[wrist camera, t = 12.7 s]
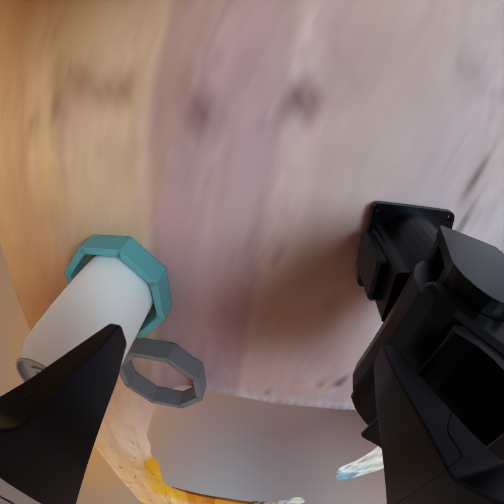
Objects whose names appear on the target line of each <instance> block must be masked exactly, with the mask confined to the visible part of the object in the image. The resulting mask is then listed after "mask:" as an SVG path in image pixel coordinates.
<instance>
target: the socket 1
mask: <svg viewBox="0 0 504 504" xmlns="http://www.w3.org/2000/svg"><path fill="white" fill-rule="evenodd" d="M88 254H91V255H102V256H114V257H119V258H120V259H121V260H122V261H123V262H124V263H126V264H127V265H128V266H129V267H130V268H131V269H132V270H133V271H135V272H136V273H137V274H138V275H139V276H140V277H141V278H143V279H144V280H145V281H146V282H147V283H148V284H150V286H151V291H152V296H153V300H154V305H155V309H156V310H155V311H154V312H153V313H151V314H150V315H149V316H148V317H147V318H145V320H144V322H143V324H142V326H141V328H140V329H139V331H138V333H137V335H136V338H144V337H145V336H146V335H147V334H149V333H150V332H151V331H152V330H154V329H155V328H156V327H157V326H159V325H160V324H161V323H162V322H164V321H165V319H166V317H167V314H168V312H169V310H170V308H171V306H172V302H171V296H170V290H169V284H168V278H167V271H166V268H165V267H164V266H163V265H162V264H161V263H160V262H158V261H157V260H156V259H155V258H154V257H153V256H152V255H151V254H149V253H148V252H147V251H146V250H145V249H144V248H143V247H142V246H141V245H139V244H138V243H137V242H136V241H135V240H134V239H133V238H132V237H127V236H107V235H92V236H91V237H90V238H89V239H88V240H87V241H86V242H85V243H84V244H82V245H81V246H80V248H79V249H78V251H77V252H76V254H75V256H74V257H73V259H72V261H71V262H70V264H69V266H68V267H67V269H66V271H65V275H66V278H67V281H68V284H69V283H70V282H71V281H72V280H73V279H74V278H75V277H76V275H77V274H78V273H79V272H80V271H81V270H82V269H83V264H82V262H83V261H84V259H85V258H86V256H87V255H88Z"/></svg>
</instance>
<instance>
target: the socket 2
mask: <svg viewBox="0 0 504 504" xmlns="http://www.w3.org/2000/svg"><path fill="white" fill-rule="evenodd" d="M134 357H139V358H144V359H150V360H155V361H161V362H166V363H168V364H169V365H171V366H172V367H174V368H175V369H177V370H178V371H179V372H181V373H182V374H184V375H185V376H187V377H188V378H190V379H191V380H193V385H194V386H193V387H191V388H189V389H187V390H185V391H179V390H173V389H167V388H162V387H157V386H156V385H154V384H153V383H151V382H150V381H148V380H147V379H145V378H144V377H142V376H141V375H139V374H138V373H137V372H135V370H134V367H133V365H132V362H131V360H132V359H133V358H134ZM119 373H120V375H121V377H122V380H123V382H124V384H125V385H126V386H127V387H128V388H130V389H131V390H133V391H134V392H136V393H137V394H139V395H141V396H142V397H144V398H145V399H147V400H148V401H150V402H152V403H156V404H161V405H167V406H171V407H177V408H184V407H187V406H189V405H192V404H194V403H196V402H198V401H201V400H202V399H203V395H204V391H205V387H206V381H205V375H204V369H203V364H202V363H201V362H199V361H198V360H196V359H195V358H194V357H192V356H191V355H189V354H188V353H187V352H185V351H184V350H183V349H181V348H180V347H178V346H177V345H176V344H174V343H170V342H163V341H157V340H151V339H144V338H138V339H136V340H135V341H134V342H133V343H132V345H131V347H130V349H129V351H128V353H127V355H126V357H125V359H124V361H123V363H122V365H121V368H120V371H119Z"/></svg>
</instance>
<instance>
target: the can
mask: <svg viewBox="0 0 504 504" xmlns="http://www.w3.org/2000/svg"><path fill="white" fill-rule="evenodd" d="M153 302H154V300H153V296H152V291H151V286H150V284H148V283H147V282H146V281H145V280H144V279H143V278H141V277H140V276H139V275H138V274H137V273H136V272H135V271H133V270H132V269H131V268H130V267H129V266H128V265H127V264H126V263H124V262H123V261H122V260H121V259H120V258H119V257H114V256H102V255H96V256H94V257H93V258H92V259H91V260H90V261H89V262H88V263H87V265H86V266H85V267H84V268H83V269H82V270H81V271H80V272H79V273H78V274H77V275H76V277H75V278H74V279H73V280H72V281H71V282H70V283H69V284H68V286H67V287H66V288H65V289H64V290H63V291H62V292H61V294H60V295H59V296H58V297H57V298H56V300H55V301H54V302H53V303H52V304H51V306H50V307H49V308H48V309H47V310H46V312H45V313H44V314H43V315H42V317H41V318H40V319H39V320H38V322H37V323H36V324H35V326H34V327H33V328H32V330H31V331H30V332H29V334H28V335H27V337H26V338H25V340H24V341H23V345H22V351H21V357H20V359H18V360H17V361H16V369H17V372H18V374H19V375H20V377H21V379H22V380H23V381H24V382H26V381H27V380H29V379H30V378H32V377H33V376H34V375H36V374H37V373H39V372H41V371H42V370H43V369H44V368H46V367H47V366H49V365H50V364H52V363H53V362H54V361H56V360H57V359H59V358H60V357H62V356H63V355H65V354H66V353H67V352H69V351H70V350H72V349H73V348H75V347H76V346H78V345H79V344H80V343H82V342H83V341H85V340H86V339H88V338H89V337H91V336H92V335H94V334H95V333H96V332H98V331H99V330H101V329H102V328H104V327H105V326H107V325H108V324H111V323H112V324H118V325H120V326H121V327H122V330H123V333H124V336H125V338H126V342H127V345H126V350H125V353H124V357H123V360H122V363H123V361H124V359H125V357H126V355H127V353H128V351H129V349H130V347H131V345H132V343H133V341H134V339H135V337H136V335H137V333H138V331H139V329H140V328H141V326H142V324H143V322H144V320H145V318H146V316H147V314H148V312H149V310H150V308H151V306H152V304H153ZM121 365H122V364H121Z"/></svg>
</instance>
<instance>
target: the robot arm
mask: <svg viewBox="0 0 504 504" xmlns="http://www.w3.org/2000/svg"><path fill="white" fill-rule="evenodd" d="M378 207H382V209H381V211H379V212H376V209H377V208H378ZM448 215H449V218H448V219H446V217H447V216H448ZM453 222H454V214H453V213H452V212H451V211H450V210H446V209H439V208H431V207H424V206H416V205H408V204H400V203H391V202H382V201H376V202H374V203H373V204H372V206H371V210H370V216H369V222H368V227H367V230H365V231H364V232H363V233H362V237H361V243H360V248H359V252H358V257H357V262H356V265H357V267H358V275H357V282H358V284H359V285H360V286H362V287H364V289H365V292H366V295H367V297H368V299H369V300H371V301H375V302H376V305H377V308H378V311H379V314H380V317H381V320H382V321H383V322H384V323H383V324H382V326H381V328H380V329H379V331H378V332H377V334H376V336H375V337H374V339H373V340H372V342H371V343H370V345H369V346H368V348H367V349H366V351H365V353H364V354H363V356H362V357H361V359H360V360H359V361H358V363H357V365H356V368H355V370H354V373H353V391H354V392H353V393H352V395H351V398H352V401H353V403H354V406H355V408H356V410H357V411H358V413H359V414H360V416H361V417H362V419H363V420H364V421H365V423H366V424H367V425H369V426H368V427H367V428H366V429H365V430H363V431H362V433H361V435H362V437H363V438H365V439H367V440H369V441H371V442H373V443H374V444H376V445H378V446H379V447H380V448H382V454H383V463H384V473H385V484H386V497H387V504H504V254H503V253H502V252H501V251H500V250H499V249H498V248H496V247H494V246H492V245H490V244H487V243H485V242H482V241H480V240H477V239H475V238H472V237H470V236H467V235H465V234H462V233H460V232H457V231H455V230H452V226H453ZM361 280H362V281H361ZM126 345H127V342H126V338H125V336H124V333H123V330H122V327H121V326H120V325H118V324H112V323H111V324H108V325H107V326H105V327H104V328H102V329H101V330H99V331H98V332H96V333H95V334H94V335H92V336H91V337H89V338H88V339H86V340H85V341H83V342H82V343H80V344H79V345H78V346H76V347H75V348H73V349H72V350H70V351H69V352H67V353H66V354H65V355H63V356H62V357H60V358H59V359H57V360H56V361H54V362H53V363H52V364H50V365H49V366H47V367H46V368H44V369H43V370H42V371H41V372H39V373H37V374H36V375H34V376H33V377H32V378H30V379H29V380H27V381H26V382H24V383H23V384H21V385H19V386H18V387H16V388H14V389H13V390H11V391H9V392H8V393H6V394H4V395H3V396H1V397H0V504H76V501H77V498H78V494H79V491H80V487H81V484H82V481H83V478H84V473H85V471H86V467H87V464H88V460H89V458H90V455H91V452H92V448H93V446H94V443H95V440H96V437H97V434H98V431H99V428H100V426H101V423H102V420H103V417H104V414H105V412H106V409H107V406H108V403H109V401H110V398H111V395H112V393H113V390H114V388H115V385H116V382H117V379H118V375H119V371H120V368H121V364H122V360H123V357H124V353H125V350H126Z"/></svg>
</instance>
